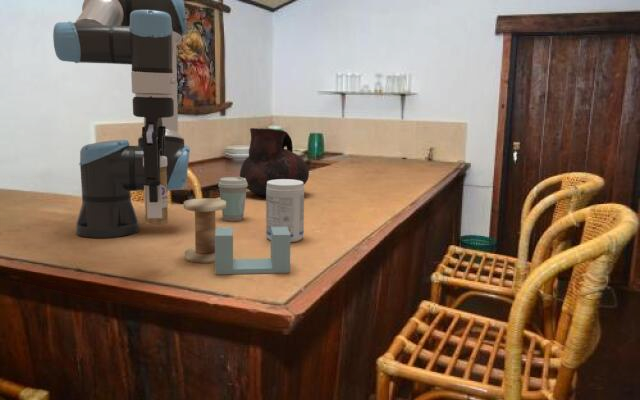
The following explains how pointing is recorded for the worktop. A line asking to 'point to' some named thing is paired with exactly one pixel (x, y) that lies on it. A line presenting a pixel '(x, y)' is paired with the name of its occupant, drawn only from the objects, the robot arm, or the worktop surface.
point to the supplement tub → (285, 207)
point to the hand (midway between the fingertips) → (156, 214)
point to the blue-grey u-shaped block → (252, 266)
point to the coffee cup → (233, 197)
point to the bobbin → (203, 228)
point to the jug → (271, 160)
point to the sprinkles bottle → (164, 195)
